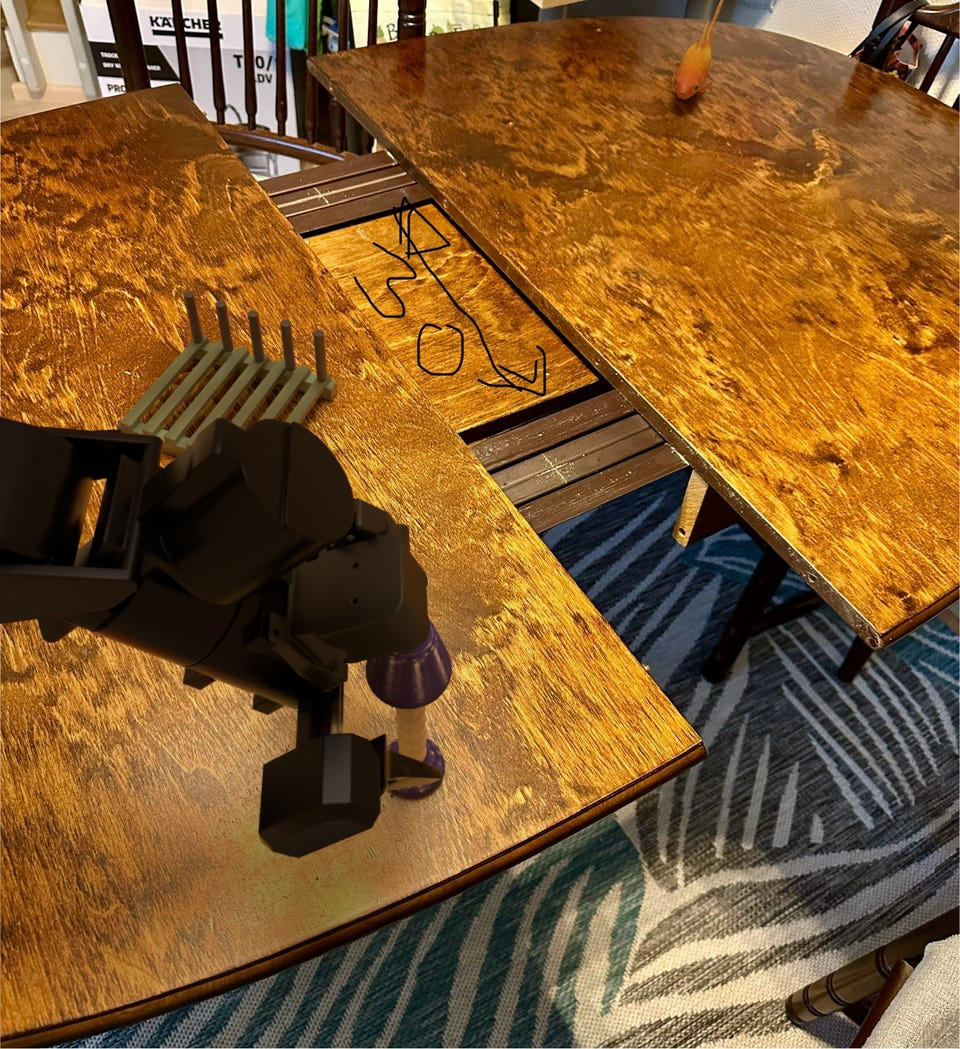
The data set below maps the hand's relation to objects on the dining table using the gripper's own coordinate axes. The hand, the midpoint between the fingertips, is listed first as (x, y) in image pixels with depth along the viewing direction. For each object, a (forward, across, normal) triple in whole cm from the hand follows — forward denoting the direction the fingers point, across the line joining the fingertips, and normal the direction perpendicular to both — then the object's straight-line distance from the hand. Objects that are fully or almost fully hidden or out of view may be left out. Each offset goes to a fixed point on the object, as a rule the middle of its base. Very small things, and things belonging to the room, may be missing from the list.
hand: (432, 708), depth 52 cm
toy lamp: (+5, 0, +7) cm, 9 cm away
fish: (+35, +97, -23) cm, 106 cm away
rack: (-5, +32, +17) cm, 37 cm away
